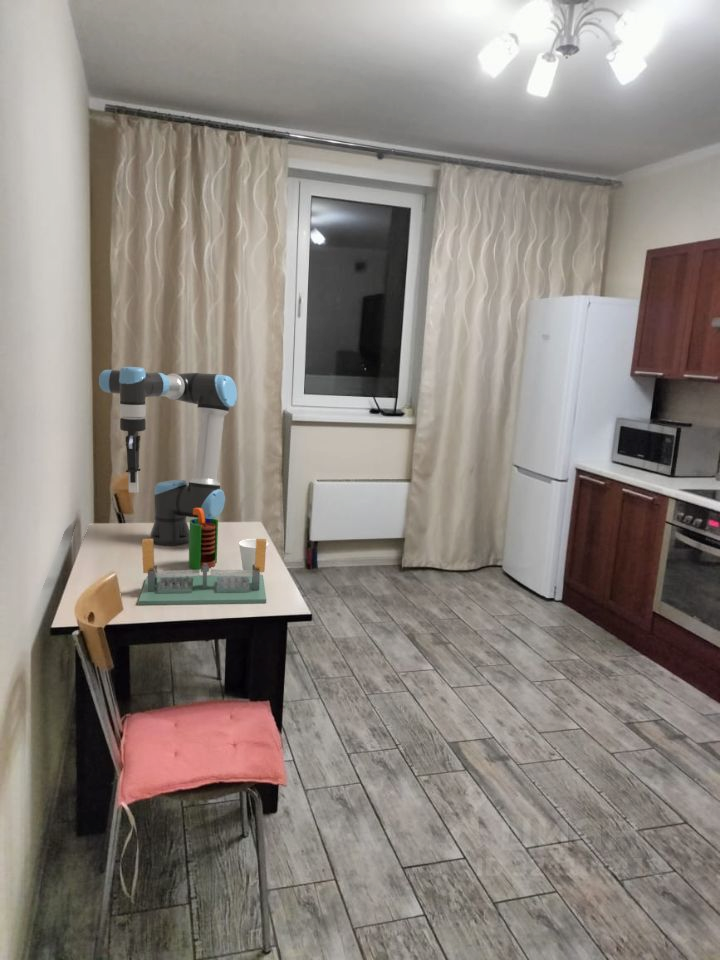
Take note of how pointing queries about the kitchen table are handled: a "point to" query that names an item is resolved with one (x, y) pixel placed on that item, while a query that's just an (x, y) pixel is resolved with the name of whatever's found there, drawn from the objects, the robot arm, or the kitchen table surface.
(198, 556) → the motor
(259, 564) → the strap
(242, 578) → the set of grey blocks
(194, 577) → the board
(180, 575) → the strap
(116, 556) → the kitchen table surface
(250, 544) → the cup
